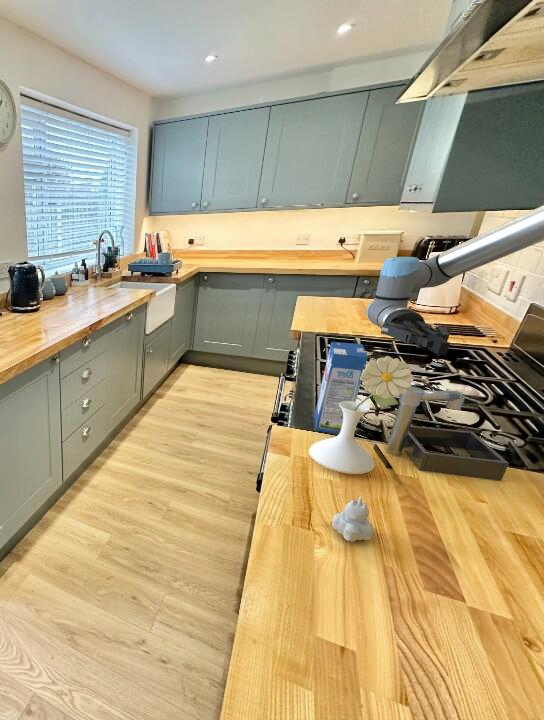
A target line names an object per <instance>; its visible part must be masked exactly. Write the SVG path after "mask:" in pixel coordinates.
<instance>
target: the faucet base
mask: <svg viewBox="0 0 544 720" xmlns="http://www.w3.org/2000/svg"><path fill="white" fill-rule="evenodd" d="M417 407H418V406H408V405H404V404H402V403H400V402H399V405H398V409H397V412H396V415H395V419H394V421H393V424H392V428H391V431H390V434H389V437H388V441H387V443H386V446H385V450H384V452H385V453H386V454H388V455H390V456H394V457H400V456H401V455H402V453H403V447H404V444H405V441H406V438H407V435H408V432H409V429H410V426H412V423H413V419H414V416H415V414H416V410H417ZM373 450H374V452H375V453H376V455H377V456H378V458H379V459H380V460H381V462H382V464H383V465H384V467H385V468H386V469H394V467H393V466H392V464H391V463H390V461H389V460H388V459H387V457H386V456H385V455H384V453H383V451H382V450H381V449H380V447H379V446H378V444H377V443H374V445H373Z"/></svg>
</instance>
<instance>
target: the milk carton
mask: <svg viewBox="0 0 544 720" xmlns="http://www.w3.org/2000/svg"><path fill="white" fill-rule="evenodd" d="M368 358H369V357H368V354H367V351H366V349H365V347H364V344H362V343H351V342H341V341H340V342H338V341H330V346H329V350H328V355H327V358H326V363H325V367H324V372H323V375H322V380H321V384H320V389H319V394H318V396H317V397H318V398H317V402H316V406H315V410H314V424H315V431H317V432H323V433H329V434H335V435H339V433H340V432H341V429H342V425H343V411H342V409H341V407H340V405H339V403H340V402H343V401H352V402H357V400H358V399H357V398H355V397H353V396H350V395H348V394H347V393H345V392H344V389H345V390H346V391H347V392H348V393H350V394H352V395H355V396H357V397H358V396H359V391H360V387H361V385H362V382H363V381H362V380H360V377H361V374H362V373H363V370H364V369H365V368H366V365H367V363H368Z"/></svg>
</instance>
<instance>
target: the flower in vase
mask: <svg viewBox="0 0 544 720" xmlns="http://www.w3.org/2000/svg"><path fill="white" fill-rule="evenodd" d="M360 380H362V381H361V385H362V386H364V390H365V391H366V392H369V395H367V397H365V398H364V399H363V400H362V398H360V397H358V395H357V396H355V395H352V394H350V393H348V392H347V391H346V390H345V389H344V392H345V393H347V394H348V395H350V396H353V397H355V398H357V399H356V400H359V401H360V402H358V401H356V402H352V401H343V402H340V403H339V405H340V407H341V409H342V411H343V425H342V429H341V432H340V433H339V434H337V435H336V436H334V437H331V438H330V437H329V438H326V439H322V440H319V441H317V442H314V443H313V444H312V445H311V446H310V447H309V450H308V452H309V455H310V458H311V459H312V460H313V461H315V462H316V463H317V464H319V465H320V466H322V467H324V468H326V469H328V470H331V471H333V472H337V473H342V474H347V475H363V474H367V473H369V472H371V471H373V470H374V468H375V461H374V457H373V456H371V454H370V452H368V451H367V450H366V449H365V448H364V447H363V446H361V444H359V442H357V441H356V439H355V431H356V429H357V426H358V423H359V422H360V420H361V418H362V417H363V416H364V415H365V414H367V413H368V412H370V410H371V408H370V407H369V406H368V405H367V404H364V402H366V401H368V400H369V399H371V397H372V399H373V400H374V402H375V403H376V404H377V405H379V406H382V407H383V406H385V407H386V406H395V405H398V404H399V405H400V402H399V401H397V399H396V398H395V397H400V396H401V394H405V393H406V392H407V388H410V387H412V382H414V375H413V374H412V370H411V369H410V368H409V364H408V363H406V362H405V361H403V360H400V359H399V358H398V357H397V358H393V357H391V356H389V355H386V356H385V357H379V358H377V360H375V359H374V360H373V359H372V360H370V361H367V363H366V366H365V369H364V370H363V373H362V374H361V377H360Z"/></svg>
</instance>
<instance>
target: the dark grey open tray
mask: <svg viewBox="0 0 544 720" xmlns="http://www.w3.org/2000/svg"><path fill="white" fill-rule="evenodd" d="M423 445H425V446H435V447H442V448H452V449H461V450H465V451H466V453H468V454H469V457H468V456H463V455H455V454H454V455H453V454H446V453H445V454H444V453H438V452H428V451H427V449H426V448H424V446H423ZM402 452H404V453H405V455H406V456H407V457H408V459H409V460H410V461H411V463H412V464H413V465H414V467H416V469H417V470H418V471H420V472H428V473H435V474H444V475H450V476H451V475H452V476H459V477H468V478H473V479H474V478H475V479H482V480H489V481H498V482H502V480H503V478H504V476H505V473H506V471H507V469H508V467H509V465H510V463H509V462H508V461H507V460H505V458H504V457H502V456H501V455H500V454H499V453H498V452H497V451H496V450H494V449H493V448H492V447H491V446H490V445H488V443H486V442H485V441H484V440H483V439H482V438H480V436H479V435H478V434H476V433H475V432H474V431H467V430H459V429H458V430H457V429H448V428H438V427H428V426H420V425H419V426H418V425H411V426H410V429H409V432H408V435H407V438H406V441H405V444H404V447H403V450H402Z"/></svg>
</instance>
